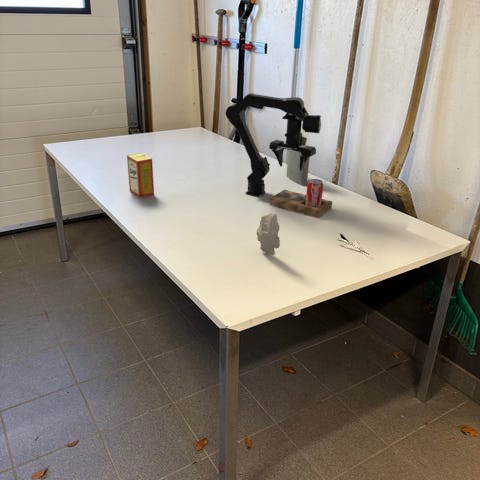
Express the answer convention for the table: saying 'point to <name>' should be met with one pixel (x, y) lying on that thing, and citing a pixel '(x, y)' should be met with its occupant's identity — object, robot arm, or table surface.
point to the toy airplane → (350, 243)
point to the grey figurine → (268, 233)
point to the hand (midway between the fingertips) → (290, 168)
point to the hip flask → (297, 168)
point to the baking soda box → (140, 175)
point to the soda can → (314, 193)
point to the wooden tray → (299, 203)
